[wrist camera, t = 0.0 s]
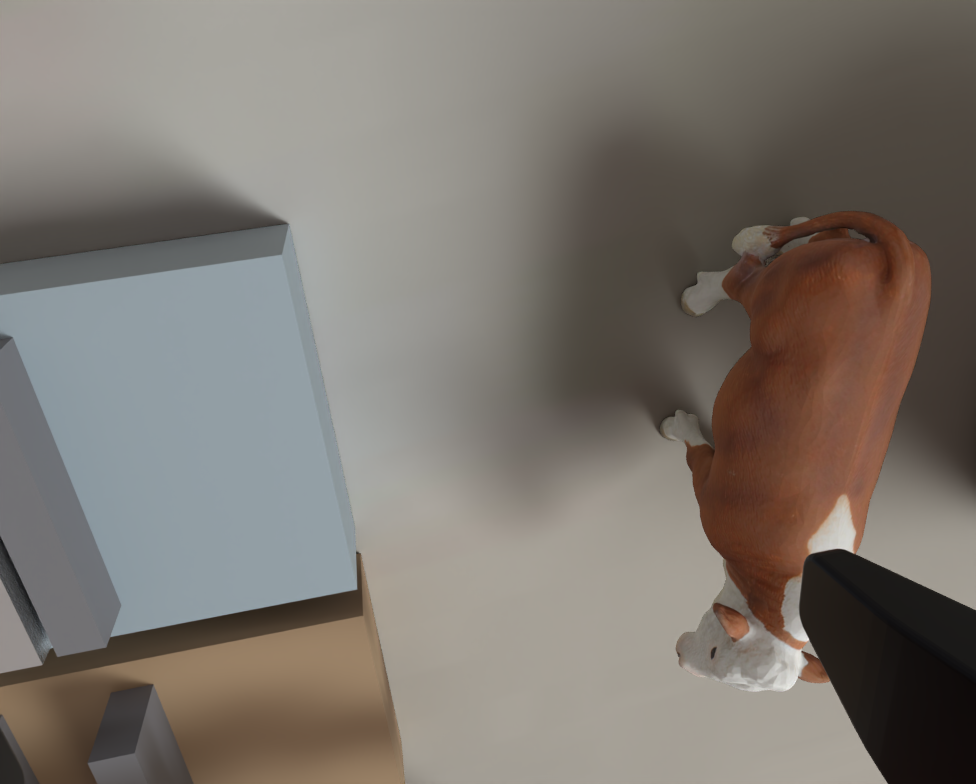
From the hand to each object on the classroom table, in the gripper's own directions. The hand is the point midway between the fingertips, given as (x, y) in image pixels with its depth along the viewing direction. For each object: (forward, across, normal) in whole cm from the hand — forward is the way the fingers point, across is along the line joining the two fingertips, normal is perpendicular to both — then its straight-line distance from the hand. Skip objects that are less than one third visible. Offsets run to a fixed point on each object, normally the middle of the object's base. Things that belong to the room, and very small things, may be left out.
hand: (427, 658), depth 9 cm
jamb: (+15, +11, +14) cm, 23 cm away
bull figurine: (+15, -10, +5) cm, 19 cm away
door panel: (+15, +11, +3) cm, 19 cm away
